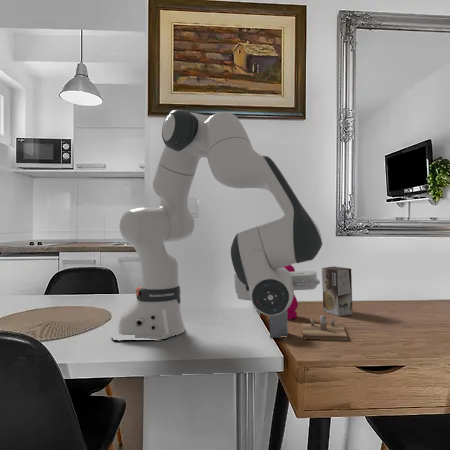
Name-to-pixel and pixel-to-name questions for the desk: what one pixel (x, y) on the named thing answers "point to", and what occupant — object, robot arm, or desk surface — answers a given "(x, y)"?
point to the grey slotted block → (278, 325)
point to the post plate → (324, 330)
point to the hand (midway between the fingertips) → (276, 276)
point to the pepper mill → (291, 310)
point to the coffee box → (337, 290)
